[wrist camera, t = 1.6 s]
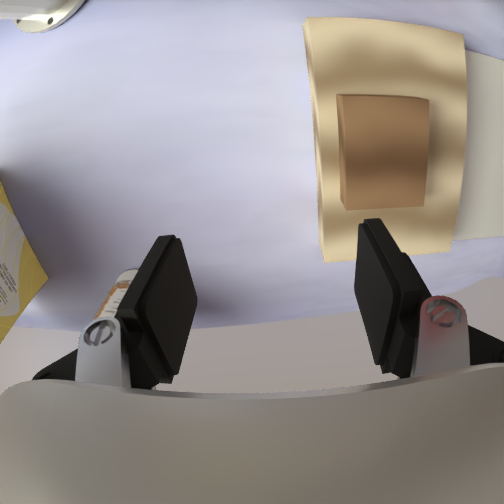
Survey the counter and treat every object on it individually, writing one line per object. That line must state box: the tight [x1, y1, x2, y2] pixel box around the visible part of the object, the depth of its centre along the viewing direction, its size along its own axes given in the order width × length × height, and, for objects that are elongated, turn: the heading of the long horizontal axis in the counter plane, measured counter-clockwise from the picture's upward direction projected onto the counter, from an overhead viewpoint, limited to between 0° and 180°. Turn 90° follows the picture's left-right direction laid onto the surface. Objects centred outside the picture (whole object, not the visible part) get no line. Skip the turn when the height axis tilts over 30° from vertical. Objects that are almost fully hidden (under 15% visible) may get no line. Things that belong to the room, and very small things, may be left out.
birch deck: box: [302, 17, 467, 263], centre depth 24 cm, size 22×14×4 cm, turn 7°
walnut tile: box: [336, 94, 429, 211], centre depth 22 cm, size 9×7×2 cm
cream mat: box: [452, 50, 504, 241], centre depth 25 cm, size 22×13×1 cm, turn 7°
